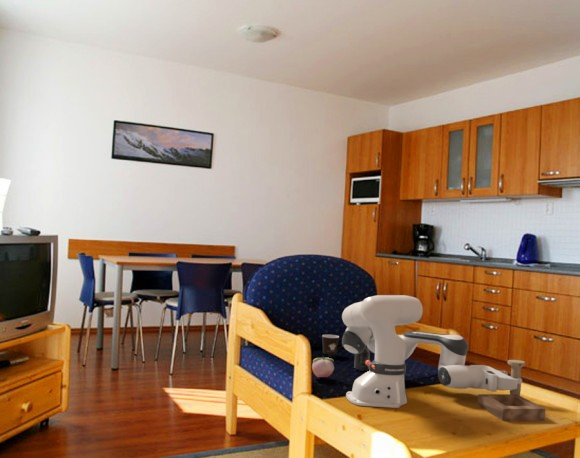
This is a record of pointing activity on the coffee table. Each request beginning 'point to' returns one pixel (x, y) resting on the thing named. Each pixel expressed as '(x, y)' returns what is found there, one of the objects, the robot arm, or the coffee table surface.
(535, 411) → the collar
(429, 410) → the coffee table surface
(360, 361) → the supplement bottle
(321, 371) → the decorative fruit
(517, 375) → the beige bolt
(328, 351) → the coffee mug
